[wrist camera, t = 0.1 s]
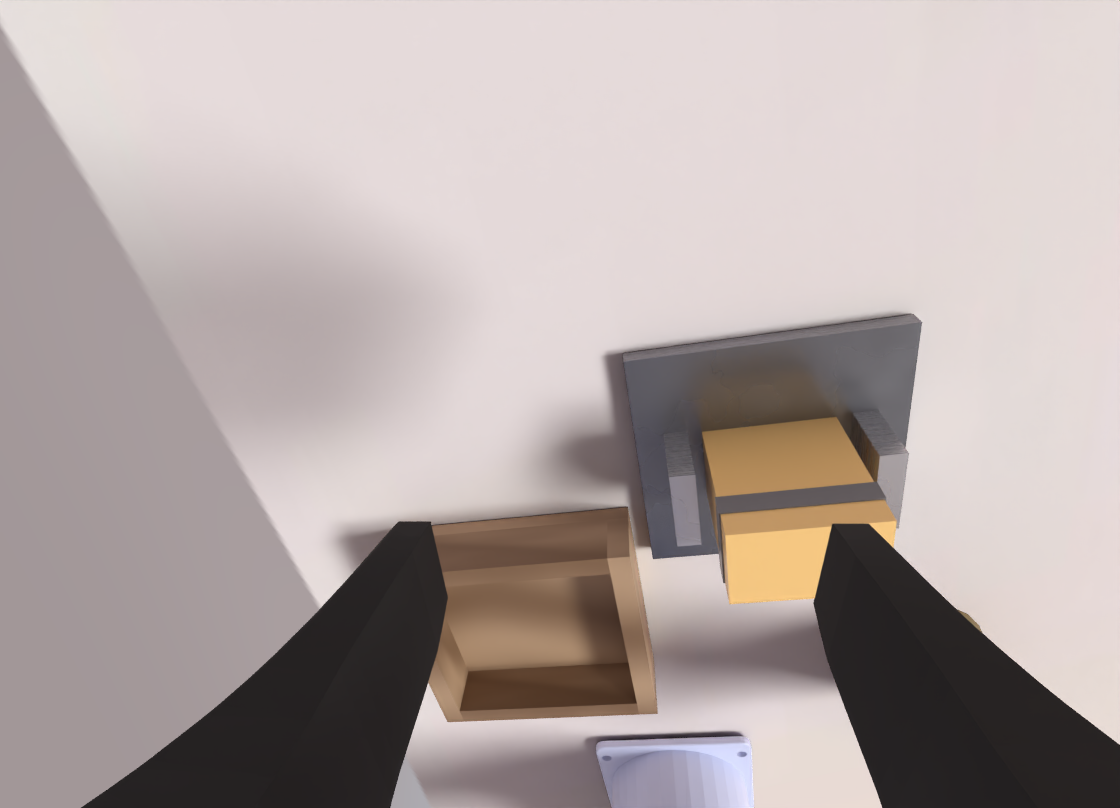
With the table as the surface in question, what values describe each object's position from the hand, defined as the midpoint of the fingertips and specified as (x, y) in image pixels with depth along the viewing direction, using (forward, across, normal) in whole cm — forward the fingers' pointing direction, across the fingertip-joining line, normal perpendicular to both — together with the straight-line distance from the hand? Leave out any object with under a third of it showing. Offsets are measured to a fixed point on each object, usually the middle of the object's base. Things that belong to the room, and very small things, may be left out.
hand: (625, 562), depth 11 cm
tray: (+10, +4, +13) cm, 17 cm away
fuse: (+10, -5, +5) cm, 12 cm away
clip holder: (+10, -5, +5) cm, 12 cm away
